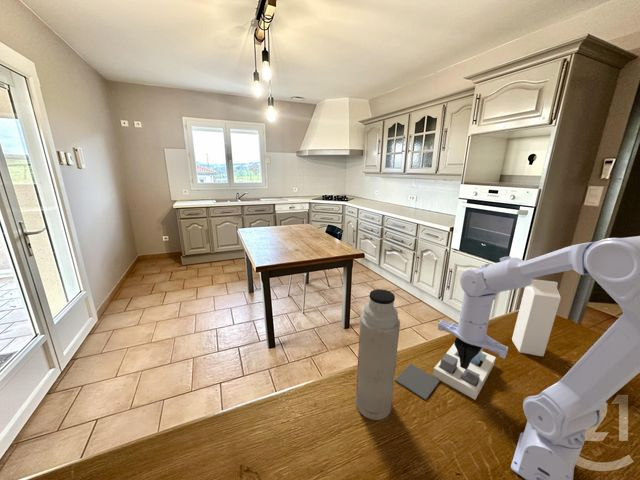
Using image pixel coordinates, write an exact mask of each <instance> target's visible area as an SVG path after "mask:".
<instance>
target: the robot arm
mask: <svg viewBox="0 0 640 480" xmlns="http://www.w3.org/2000/svg"><path fill="white" fill-rule="evenodd" d="M572 270H573V271H575V272H576V273H578V274H579V275H581V276H586V275H590V276H591V277H592V278H593V280H594V281H596V282H597V284H598V285H599V286H601V289H603V290H604V291H605V292H606V293H607V294H608V295H609V296H610V297H611V298H612V299H613V300H614V301H615V302H616V304H618V306H619V307H620V309H621V311H622V314H621V315H620V316H619V317H618V319H616V320H615V322H613V324H612V325H611V326H610V327H608V329H607V330H606V331H605V332H604V333H603V334H602V335H601V336H600V338H598V339H597V341H595V342H594V344H593V345H591V347H590V348H589V349H588V350H587V351H586V352H585V353H584V355H582V356H581V358H580V359H579V360H578V361H577V362H576V363H575V364H574V365H572V367H571V368H570V369H569V370H568V372H566V373H565V375H564V376H562V377H561V379H559V380H558V381H556V382H555V383H553V384H552V385H550V386H548V387H547V388H545V389H544V390H542V391H541V392H540V393H539V394H536V395H530V396H527V397H526V398H525V399H523V403H522V408H523V413H524V415H525V418H526V420H527V422H526V425H525V429H524V431H523V432H520V434H519V437H518V442H517V445H516V448H515V451H514V455H513V457H512V458H513V459H512V461H511V464H510V469H511V470H512V471H513V472H514V473H516V474H517V475H519V476H521V477H522V478H523V479H525V480H574V474H575V467H576V464H577V461H578V459H579V457H580V454H581V451H582V450H583V448H584V447H583V446H584V443H585V442H586V431H587V429H589V428H592V427H596V426H598V425H599V424H600V423H601V422H602V418H603V417H602V414H603V413H602V412H603V410H604V409H605V408H606V407H607V406H608V403H607V402H606V401H608V400H609V399H610V398H612V397H613V396H614V395H615V394H616V393H617V392H619V391H620V390H621V389H622V388H623V387H624V386H625V385H627V384H628V383H629V382H630V381H631V380H633V379H634V378H635V377H636V376H637V375H639V374H640V235H638V236H636V235H635V236H628V237H610V238H609V237H608V238H604V239H603V238H602V239H601V240H598V241H592V242H591V241H590V242H584V243H578V244H573V245H570V246H565V247H563V248H560V249H557V250H554V251H552V252H549V253H545V254H543V255H539V256H536V257H534V258H530V259H528V260H523V259H521V258H519V257H511V256H503V257H499V262H495V263H492V264H490V263H485V264H484V263H483V264H482V265H481V268H477V269H472V268H471V269H467V270H466V271H463V273H462V274H461V275H460V278H459V279H460V280H459V281H460V282H459V283H460V286H461V289H462V291H463V298H462V303H461V309H460V314H459V321H458V324H457V323H453V322H449V321H446V320H443V319H441V320H440V321H439V322H438V324H437V330H438V331H441V332H442V331H444V332H446V333H449V334H451V335H453V336H455V337H456V338H455V340H454V343H453V344H455V346H456V348H457V351H458V354H459V355H458V357H459V358H460V367H462V368H464V369H466V370H467V368H468V367H469V364H470V362H471V360H472V359H473V358H474V357H475V356H476V355H477V354H478V353H479V352H480V350H481V349H482V347H483V349H486V350H488V351H490V352H492V353H494V354H497V355H498V357H499V358H502V359H506V356H507V354H508V351H509V347H508V346H506V345H504V344H502V343H500V342H498V341H497V340H495V339H494V338H492V337H490V336H489V335H487V331H488V327H489V322H490V316H491V313H492V307H493V303H494V301H495V300H496V297H497V295H498V294H499V293H502V292H507V291H511V290H516V289H520V288H525V287H527V286H529V285H530V284H531V283H532V280H534V278H537V277H543V276H547V275H552V274H557V273H563V272H567V271H572ZM483 349H482V350H483Z"/></svg>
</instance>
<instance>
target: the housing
mask: <svg viewBox="0 0 640 480" xmlns="http://www.w3.org/2000/svg"><path fill="white" fill-rule="evenodd" d="M446 353H447V354H449V355H451V356H453V357H455V358H457V359H458V362H457V367H456V370H455V372H454V373H453V374H451V373H449V372H447V371H445V370H443V369H441V368H440V364H441V359H440V360H439V362H437V364H435V366H434V367H433V370H432V371H433V372H432V376H433V377H435V378H437V379H439V380H440V382H442V383H444V384H446V385H448V386H449V387H451V388H453V389H455V390H457V391H458V392H460V393H462V394H464V395H465V396H468V397H469V398H471V399H473V400H474V401H475V400H476V399H477V397H478V396H479V394H480V392H481V390H482V388H483V386H484V384H485V382H486V381H487V379H488V377H489V375H490V373H491V371H492V369H493V367H494V366H495V362H496V358H497V357H496V356H494V355H492V354H489V353H487V352H485V351H483V350H482V354H481V358H480V362H482V364H481V365H480V366H479V365H478V366H476V365H474V364H472V363H470V364H469V367H468V368H467V369H469V370H471V371H473V372H475V373H477V374H479V375H480V376H479V380H478V384H477V386H476V387H475V386H473V385H471V384H469V383H467V382H466V381H464V380H462V379H461V378H462V374H463V373H464V371H465V369H464V368H462V367H460V358H459V354H458V351H457V348H456V346H455V344H454V343H453V344H452V345H451V347H450V348H449V349H448V350H447V351H446Z"/></svg>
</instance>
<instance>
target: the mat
mask: <svg viewBox="0 0 640 480" xmlns="http://www.w3.org/2000/svg"><path fill="white" fill-rule="evenodd" d="M394 381H395V382H396V383H398V385H401V386H402V387H404V388H405V389H407V391H410V392H412V393H413V394H415V395H416V396H418V397H419V398H421V399H422V400H423V401H425V402H426V401H427V399H428V398H429V397H430V395H431V394H432V393H433V391H434V390H435V389H436V387H437V386H438V385H439V383H440V382H441V380H439V379H437V378H435V377H434V376H433V374H430V373H428V372H427V371H424V370H422V369H421V368H419V367H418V366H415V365H414V364H412V363H409V364H408V365H407V366H406V368H405V369H404V370H402V372H401V373H399V375H398V376H397V377H396V378H394Z"/></svg>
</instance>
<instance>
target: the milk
mask: <svg viewBox="0 0 640 480" xmlns="http://www.w3.org/2000/svg"><path fill="white" fill-rule="evenodd" d="M558 285H559V283H558V282H557V281H550V280H541V279H533V280H532V282H531V284H530V285H529V286H527V287H524V290H523V294H522V296H521V303H520V306H519V310H518V314H517V317H516V322H515V325H514V330H513V334H512V337H511V340H512V341H511V342H512V343H513V344H514V346H515V348H516V349H517V351H518V353H520V354H527V355H532V356H537V357H544V356H545V353H546V349H547V346H548V344H549V343H548V342H549V340H550V335H551V333H552V329H553V326H554V323H555V319H556V317H557V316H556V315H557V311H558V309H559V306H560V302H561V299H562V297H561V295H560V292H559V289H558Z"/></svg>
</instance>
